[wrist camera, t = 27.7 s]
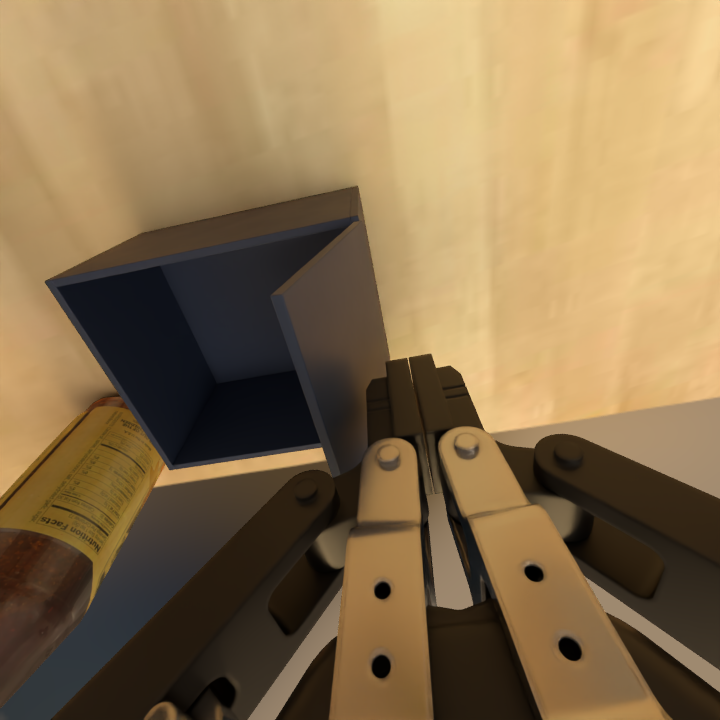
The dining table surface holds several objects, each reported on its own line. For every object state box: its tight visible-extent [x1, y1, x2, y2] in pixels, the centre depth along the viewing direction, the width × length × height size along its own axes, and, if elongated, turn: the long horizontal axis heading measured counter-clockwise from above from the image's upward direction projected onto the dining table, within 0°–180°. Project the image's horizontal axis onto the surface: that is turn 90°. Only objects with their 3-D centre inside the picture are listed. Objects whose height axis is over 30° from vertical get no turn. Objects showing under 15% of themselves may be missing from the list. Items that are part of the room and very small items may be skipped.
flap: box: [271, 221, 388, 478], centre depth 12 cm, size 10×6×1 cm
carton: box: [45, 186, 390, 470], centre depth 19 cm, size 10×12×7 cm
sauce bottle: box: [0, 397, 165, 708], centre depth 18 cm, size 6×6×20 cm
